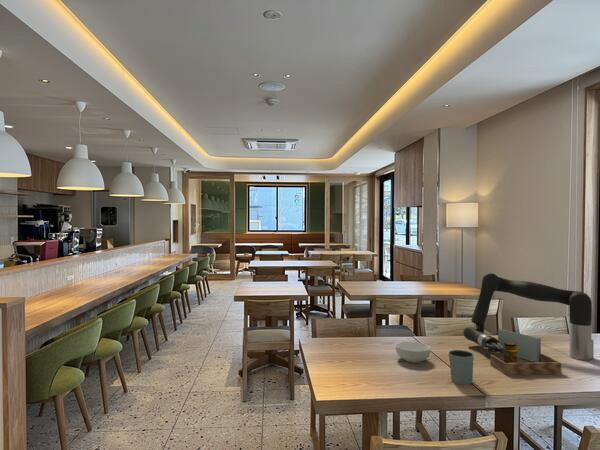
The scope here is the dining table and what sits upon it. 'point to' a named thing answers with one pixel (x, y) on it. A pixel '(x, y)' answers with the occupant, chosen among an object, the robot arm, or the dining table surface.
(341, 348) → the dining table surface
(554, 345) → the dining table surface
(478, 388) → the dining table surface
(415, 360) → the cereal bowl
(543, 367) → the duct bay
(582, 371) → the dining table surface
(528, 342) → the cover door
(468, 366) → the blue-grey cup
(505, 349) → the condiment
